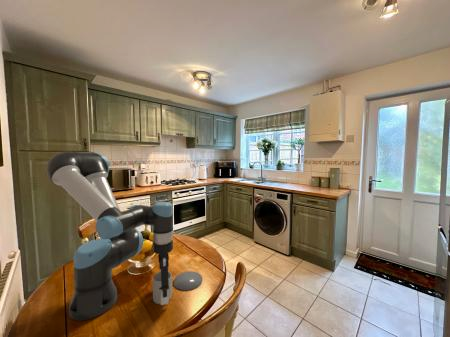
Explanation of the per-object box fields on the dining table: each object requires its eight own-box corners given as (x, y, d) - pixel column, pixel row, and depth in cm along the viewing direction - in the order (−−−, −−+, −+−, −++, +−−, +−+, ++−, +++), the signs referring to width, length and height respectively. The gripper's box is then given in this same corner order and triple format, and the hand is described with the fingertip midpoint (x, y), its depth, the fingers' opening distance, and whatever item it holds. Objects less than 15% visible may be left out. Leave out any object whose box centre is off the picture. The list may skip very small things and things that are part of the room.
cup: (150, 304, 73) (149, 282, 72) (159, 287, 83) (158, 267, 82) (168, 304, 73) (168, 282, 72) (175, 287, 83) (175, 267, 82)
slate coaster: (175, 293, 79) (175, 292, 79) (172, 275, 91) (172, 274, 91) (205, 286, 83) (205, 285, 83) (198, 270, 95) (198, 269, 95)
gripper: (176, 253, 66) (176, 312, 67) (170, 229, 90) (170, 273, 90) (153, 257, 64) (154, 318, 64) (153, 231, 87) (153, 276, 88)
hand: (163, 292), depth 77 cm, fingers open, 13 cm apart
